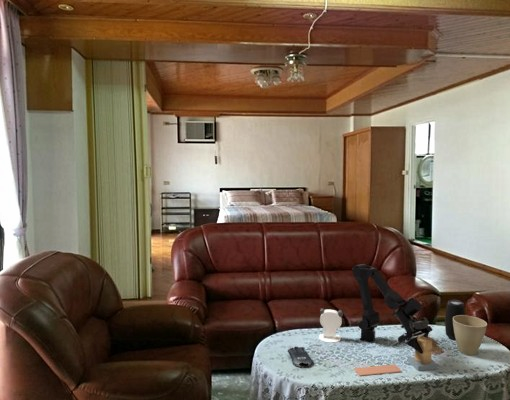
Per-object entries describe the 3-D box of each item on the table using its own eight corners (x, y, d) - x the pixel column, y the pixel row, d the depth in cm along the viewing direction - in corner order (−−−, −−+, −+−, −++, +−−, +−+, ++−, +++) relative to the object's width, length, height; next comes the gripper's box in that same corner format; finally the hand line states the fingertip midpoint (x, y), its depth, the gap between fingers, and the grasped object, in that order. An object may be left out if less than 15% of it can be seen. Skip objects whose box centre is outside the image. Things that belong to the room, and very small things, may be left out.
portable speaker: (466, 341, 216) (468, 304, 214) (448, 341, 216) (450, 304, 214) (458, 334, 224) (460, 299, 222) (441, 334, 224) (443, 298, 222)
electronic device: (285, 357, 201) (294, 368, 186) (286, 345, 201) (296, 355, 187) (303, 358, 203) (314, 368, 188) (305, 346, 203) (315, 356, 188)
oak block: (414, 359, 190) (415, 338, 189) (421, 356, 193) (422, 336, 192) (424, 364, 186) (425, 342, 185) (431, 361, 189) (432, 340, 188)
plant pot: (466, 361, 194) (468, 328, 192) (444, 347, 208) (445, 316, 207) (492, 357, 198) (494, 325, 196) (469, 344, 212) (470, 313, 211)
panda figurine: (342, 334, 223) (342, 307, 222) (341, 343, 212) (342, 315, 211) (319, 332, 226) (320, 305, 225) (318, 341, 215) (318, 313, 214)
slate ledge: (417, 370, 185) (418, 366, 185) (408, 362, 193) (408, 358, 193) (438, 368, 187) (438, 364, 187) (427, 360, 195) (427, 356, 194)
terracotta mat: (359, 376, 180) (359, 375, 180) (353, 369, 186) (353, 368, 186) (401, 372, 184) (401, 370, 184) (394, 365, 190) (395, 364, 190)
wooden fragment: (446, 355, 200) (447, 353, 200) (423, 354, 201) (423, 352, 201) (429, 334, 225) (429, 332, 225) (408, 333, 226) (408, 331, 226)
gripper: (404, 316, 186) (424, 349, 178) (430, 308, 196) (450, 339, 188) (389, 327, 193) (408, 359, 185) (414, 319, 203) (434, 349, 195)
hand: (426, 352), depth 188 cm, fingers closed on oak block, 5 cm apart
